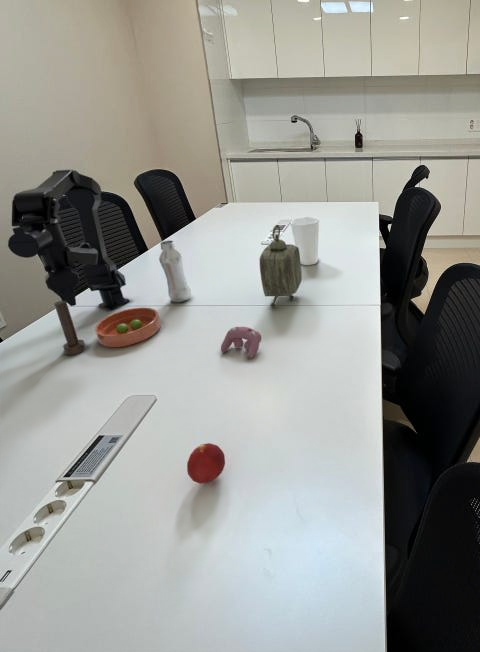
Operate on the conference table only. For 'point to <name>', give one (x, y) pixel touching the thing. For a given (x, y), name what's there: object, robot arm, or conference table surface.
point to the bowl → (113, 339)
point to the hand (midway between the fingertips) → (72, 298)
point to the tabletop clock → (280, 269)
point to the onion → (205, 463)
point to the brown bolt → (69, 330)
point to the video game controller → (237, 336)
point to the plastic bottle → (174, 272)
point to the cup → (306, 238)
